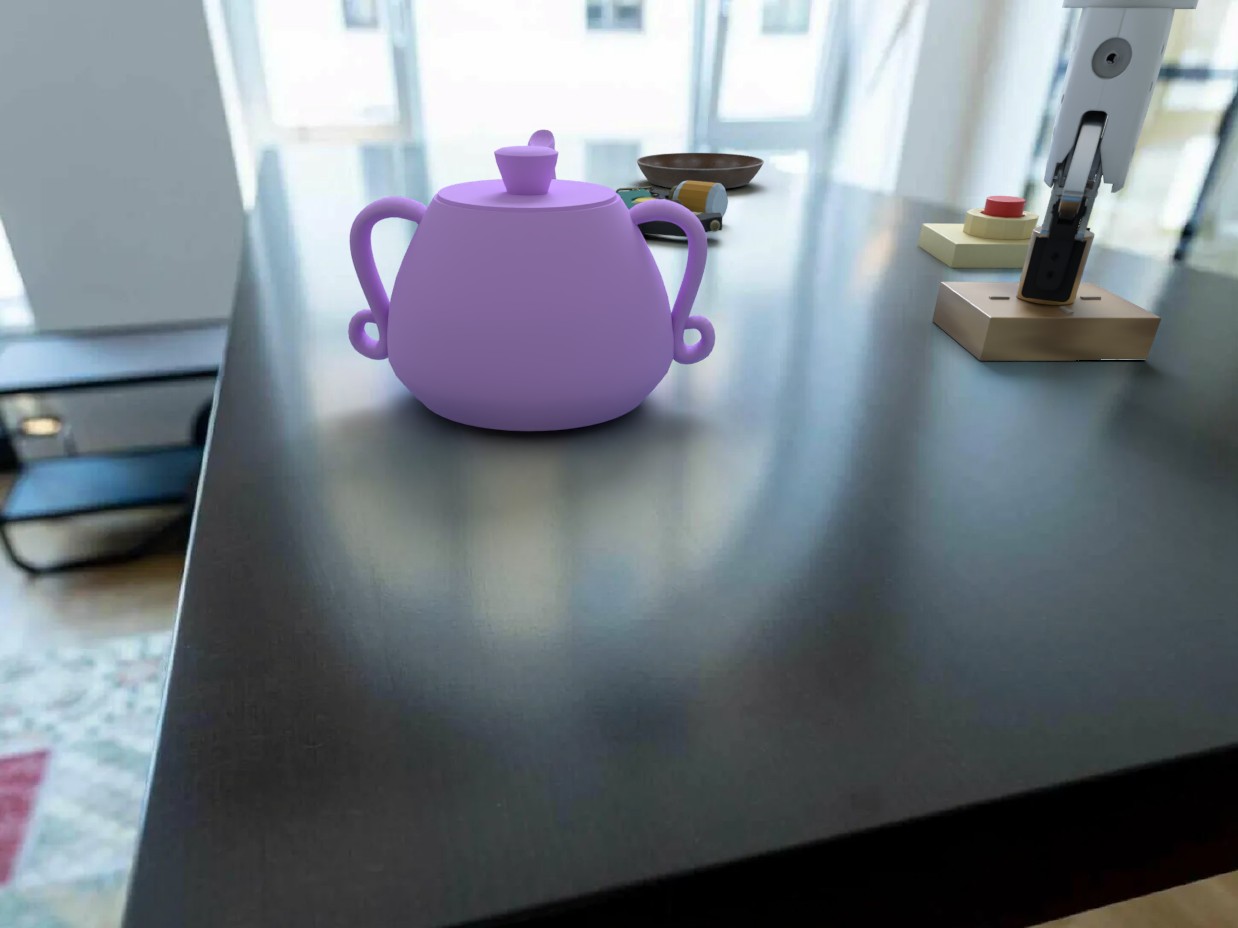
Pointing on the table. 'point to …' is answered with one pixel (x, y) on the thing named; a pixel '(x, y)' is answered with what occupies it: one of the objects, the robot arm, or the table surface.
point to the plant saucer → (699, 168)
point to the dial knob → (1089, 237)
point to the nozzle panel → (1043, 324)
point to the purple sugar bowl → (529, 298)
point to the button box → (980, 240)
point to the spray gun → (693, 195)
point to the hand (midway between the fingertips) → (1047, 288)
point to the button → (1004, 206)
